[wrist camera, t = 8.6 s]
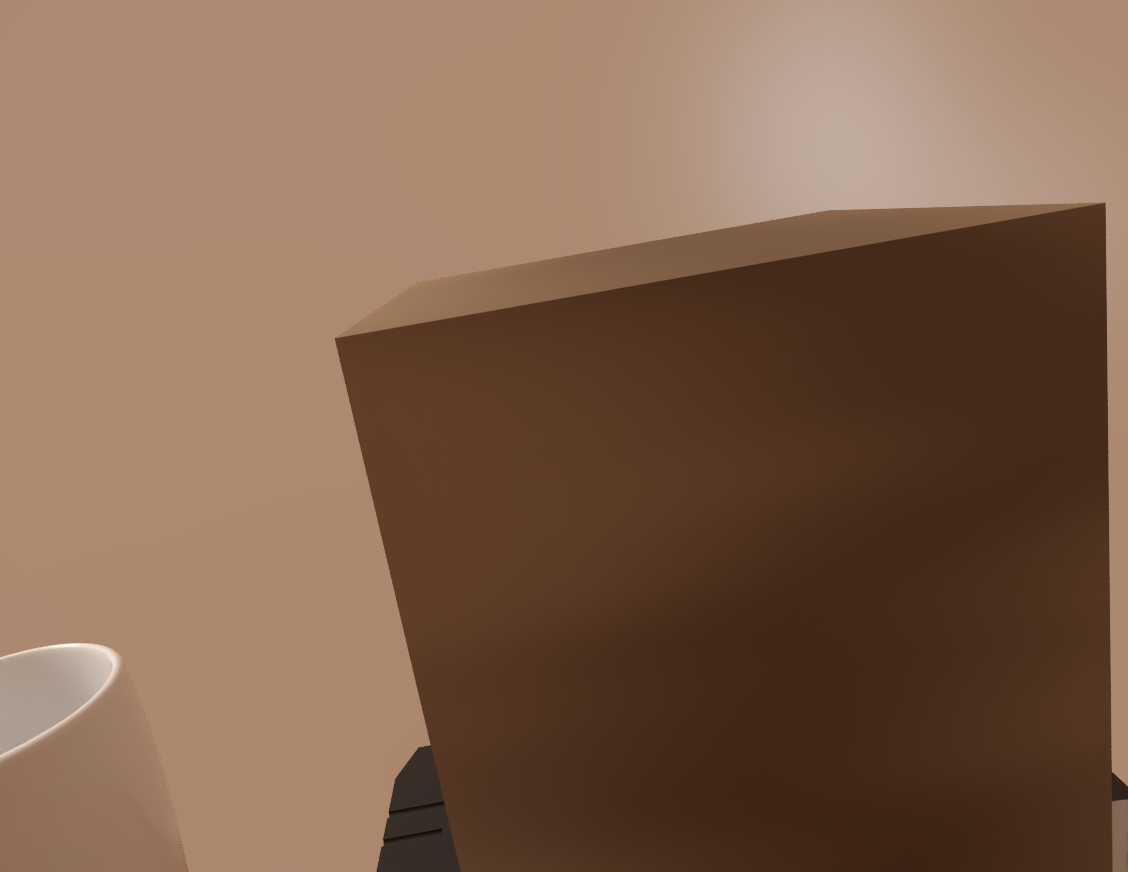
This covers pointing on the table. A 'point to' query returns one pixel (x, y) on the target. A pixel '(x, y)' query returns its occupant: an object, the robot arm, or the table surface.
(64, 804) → the drinking glass
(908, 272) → the tall brown pillar
